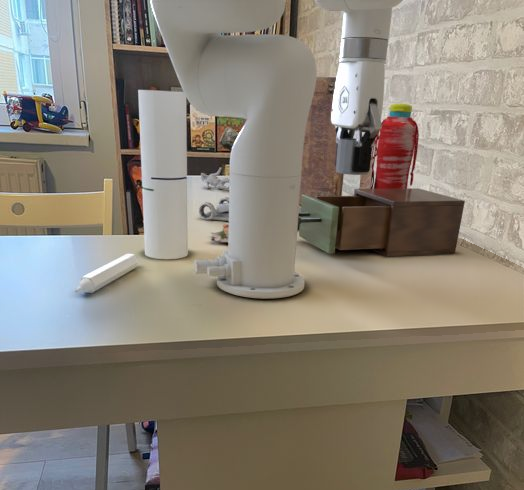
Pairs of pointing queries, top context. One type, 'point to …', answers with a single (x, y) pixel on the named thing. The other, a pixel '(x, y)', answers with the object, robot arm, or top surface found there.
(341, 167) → the tin
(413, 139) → the water bottle
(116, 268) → the marker
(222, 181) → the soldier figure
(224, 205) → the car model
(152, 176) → the cylindrical container
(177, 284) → the top surface
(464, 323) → the top surface
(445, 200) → the cabinet
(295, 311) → the top surface
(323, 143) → the book
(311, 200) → the drawer
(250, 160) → the robot arm
